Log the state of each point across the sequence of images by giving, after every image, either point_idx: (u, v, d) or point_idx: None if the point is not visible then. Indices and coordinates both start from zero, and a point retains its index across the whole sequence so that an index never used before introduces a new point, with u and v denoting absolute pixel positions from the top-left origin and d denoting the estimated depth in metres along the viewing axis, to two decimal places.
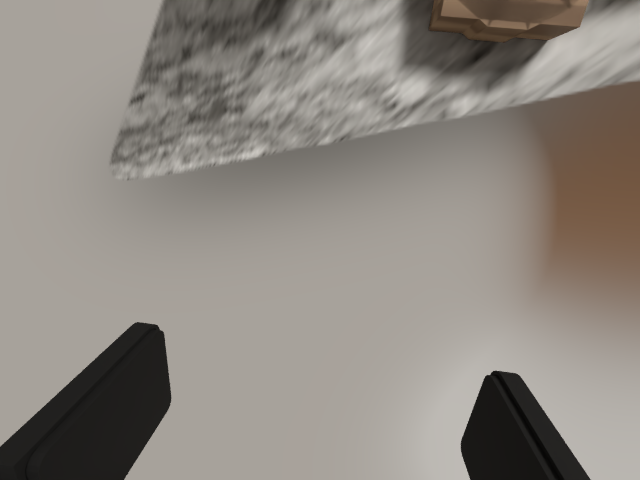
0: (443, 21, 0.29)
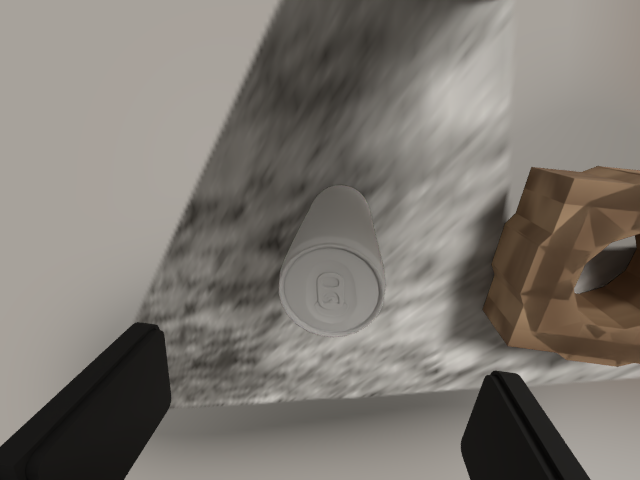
0: None
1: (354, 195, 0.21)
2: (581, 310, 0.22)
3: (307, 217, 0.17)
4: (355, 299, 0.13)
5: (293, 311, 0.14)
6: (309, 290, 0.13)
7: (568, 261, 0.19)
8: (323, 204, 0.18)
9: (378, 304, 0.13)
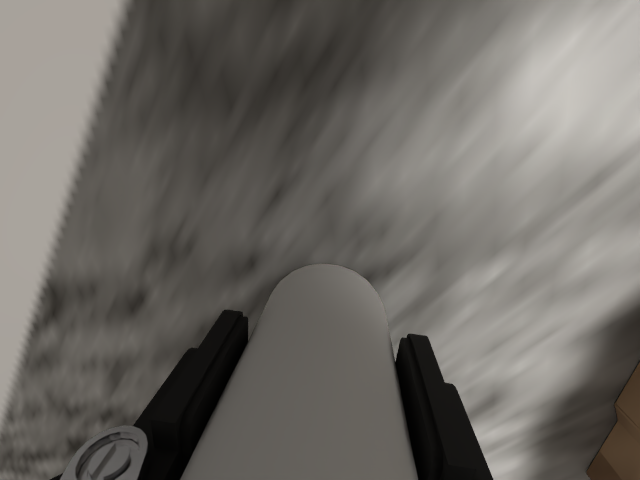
0: None
1: (354, 305, 0.09)
2: None
3: (214, 427, 0.06)
4: None
5: None
6: None
7: None
8: (267, 371, 0.06)
9: None
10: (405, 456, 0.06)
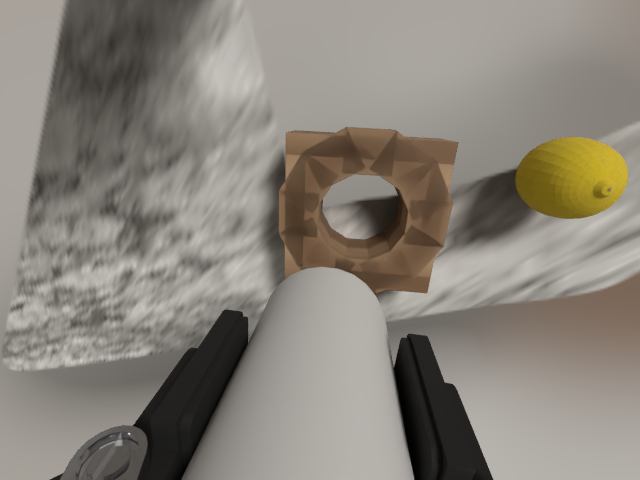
0: None
1: (352, 309, 0.09)
2: (349, 249, 0.27)
3: (213, 432, 0.06)
4: None
5: None
6: None
7: (305, 203, 0.23)
8: (266, 376, 0.07)
9: None
10: (402, 460, 0.06)
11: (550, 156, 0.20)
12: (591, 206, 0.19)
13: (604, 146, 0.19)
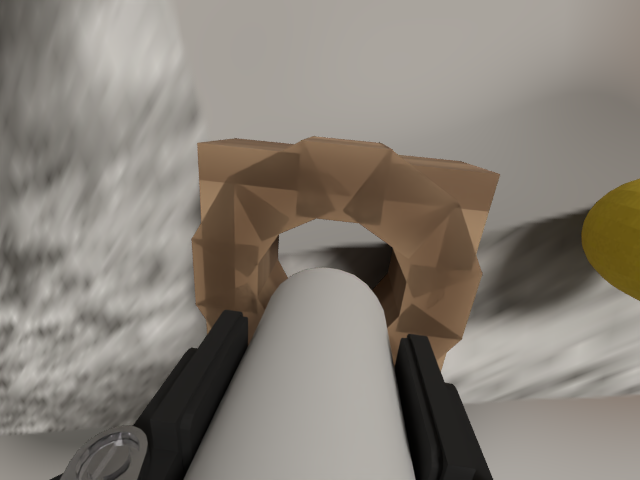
0: None
1: (353, 309, 0.09)
2: None
3: (214, 433, 0.06)
4: None
5: None
6: None
7: (236, 260, 0.14)
8: (267, 377, 0.07)
9: None
10: (403, 461, 0.06)
11: None
12: None
13: None
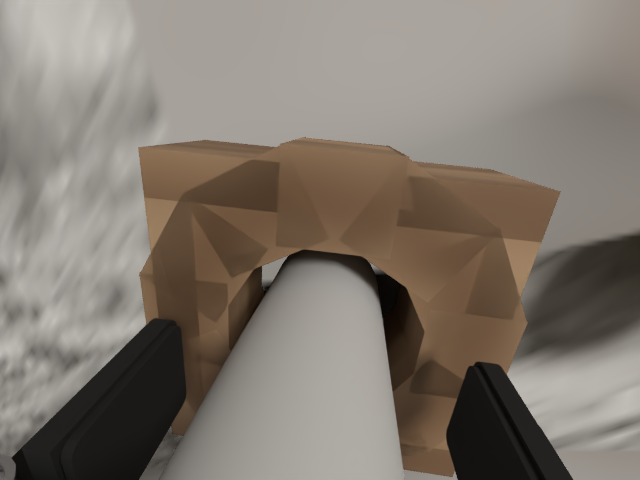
0: None
1: (348, 266, 0.11)
2: None
3: (245, 334, 0.08)
4: None
5: None
6: None
7: (199, 301, 0.11)
8: (282, 301, 0.09)
9: None
10: (379, 355, 0.08)
11: None
12: None
13: None
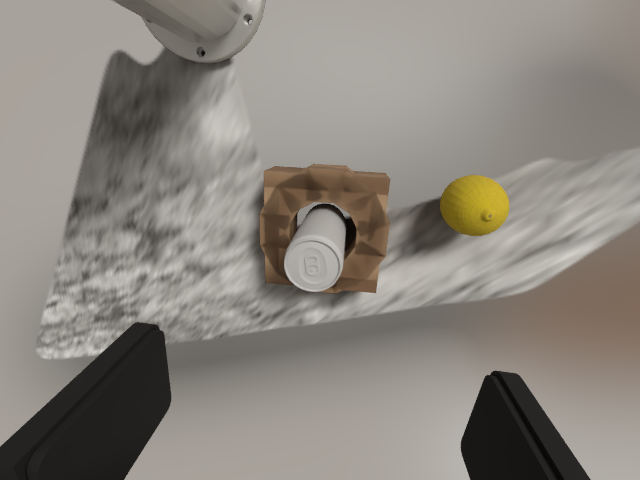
0: None
1: (332, 210, 0.32)
2: None
3: (300, 225, 0.29)
4: (326, 269, 0.24)
5: (292, 278, 0.25)
6: (300, 265, 0.24)
7: (279, 222, 0.31)
8: (310, 217, 0.29)
9: (338, 271, 0.24)
10: (339, 229, 0.28)
11: (456, 190, 0.27)
12: (482, 227, 0.26)
13: (490, 184, 0.26)
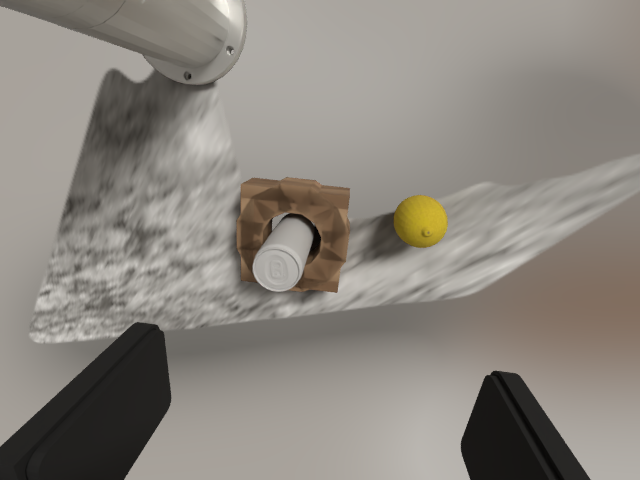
0: None
1: (300, 219, 0.36)
2: None
3: (271, 233, 0.33)
4: (288, 273, 0.29)
5: (260, 279, 0.29)
6: (266, 269, 0.29)
7: (254, 229, 0.35)
8: (280, 226, 0.34)
9: (298, 275, 0.29)
10: (304, 237, 0.33)
11: (404, 208, 0.32)
12: (423, 241, 0.31)
13: (431, 205, 0.31)
